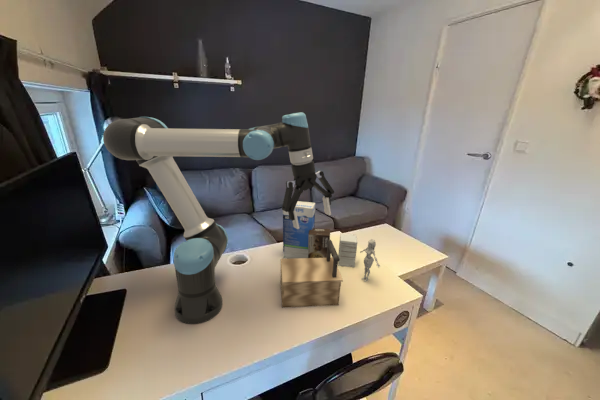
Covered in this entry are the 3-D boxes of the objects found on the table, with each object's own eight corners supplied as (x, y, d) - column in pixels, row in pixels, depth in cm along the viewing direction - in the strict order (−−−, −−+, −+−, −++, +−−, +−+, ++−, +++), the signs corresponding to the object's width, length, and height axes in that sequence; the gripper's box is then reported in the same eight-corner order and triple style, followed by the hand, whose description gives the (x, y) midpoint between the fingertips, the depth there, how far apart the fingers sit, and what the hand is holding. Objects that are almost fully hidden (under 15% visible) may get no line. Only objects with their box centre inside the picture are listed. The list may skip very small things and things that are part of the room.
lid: (282, 283, 91) (282, 260, 88) (280, 260, 105) (281, 239, 102) (342, 281, 94) (345, 258, 91) (333, 258, 107) (335, 238, 104)
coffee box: (328, 261, 124) (330, 228, 118) (328, 269, 118) (330, 235, 112) (308, 259, 124) (309, 227, 119) (307, 267, 118) (308, 233, 113)
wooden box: (282, 307, 95) (282, 283, 92) (280, 282, 108) (280, 260, 105) (338, 305, 97) (341, 281, 94) (330, 280, 110) (332, 259, 107)
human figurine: (354, 272, 116) (358, 234, 110) (361, 270, 118) (366, 232, 112) (371, 289, 106) (377, 248, 100) (379, 287, 108) (386, 246, 101)
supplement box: (337, 257, 127) (340, 232, 123) (354, 258, 127) (356, 234, 122) (337, 266, 121) (340, 240, 116) (354, 267, 120) (357, 242, 115)
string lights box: (313, 254, 129) (316, 202, 120) (310, 262, 122) (313, 208, 113) (286, 250, 132) (287, 199, 123) (282, 258, 125) (282, 205, 116)
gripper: (273, 173, 81) (287, 237, 88) (339, 153, 92) (346, 211, 99) (263, 171, 87) (277, 230, 94) (325, 152, 98) (333, 206, 105)
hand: (312, 220), depth 97 cm, fingers open, 13 cm apart
